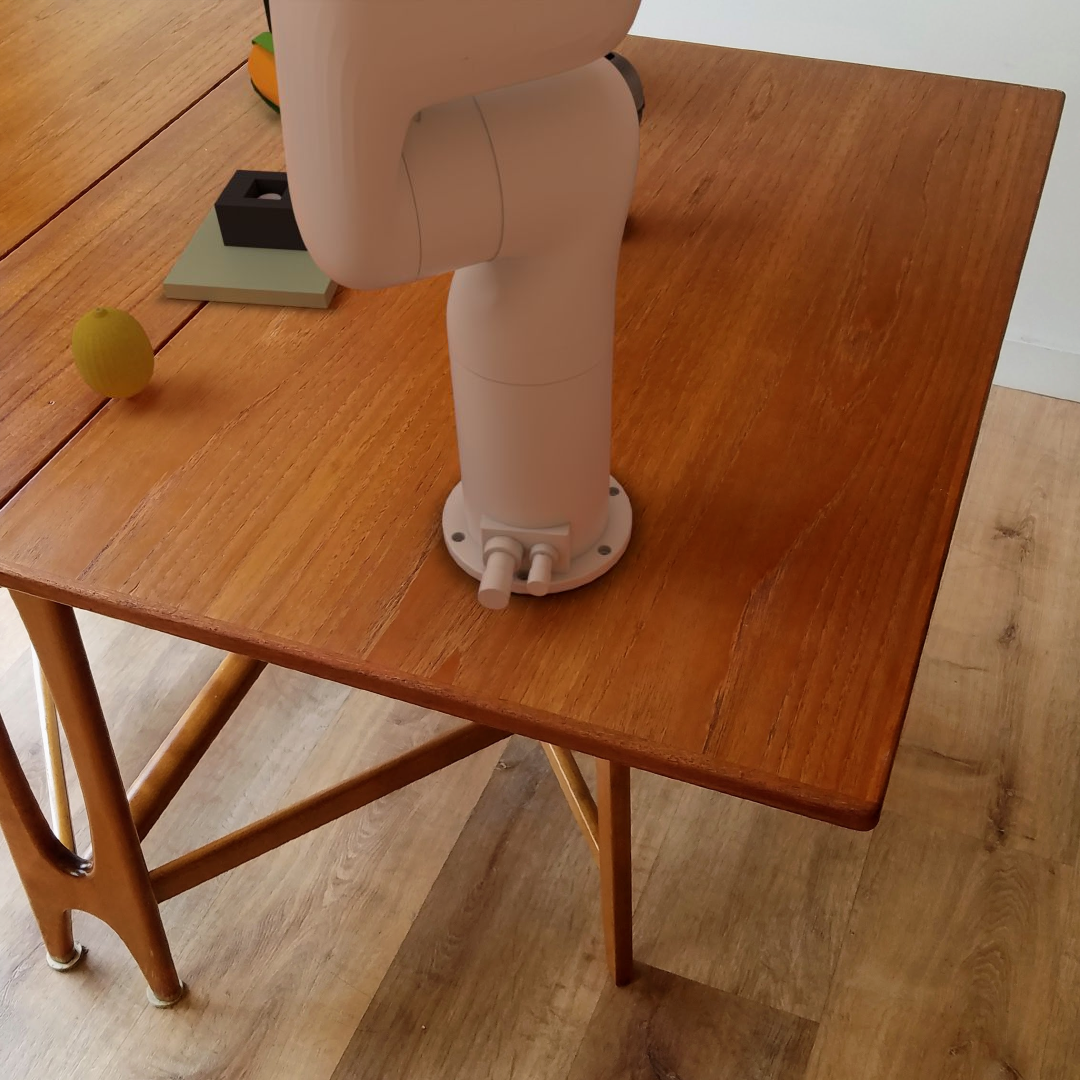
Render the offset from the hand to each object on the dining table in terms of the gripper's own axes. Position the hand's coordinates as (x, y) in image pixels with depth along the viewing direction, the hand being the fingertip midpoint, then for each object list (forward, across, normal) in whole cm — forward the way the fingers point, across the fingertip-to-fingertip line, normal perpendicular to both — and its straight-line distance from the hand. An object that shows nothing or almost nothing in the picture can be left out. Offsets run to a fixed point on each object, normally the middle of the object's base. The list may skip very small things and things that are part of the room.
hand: (310, 8), depth 85 cm
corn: (+21, -26, -11) cm, 35 cm away
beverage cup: (+22, -7, +21) cm, 31 cm away
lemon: (+22, +20, -13) cm, 32 cm away
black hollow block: (+20, -2, -7) cm, 21 cm away
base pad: (+21, -2, -7) cm, 22 cm away
